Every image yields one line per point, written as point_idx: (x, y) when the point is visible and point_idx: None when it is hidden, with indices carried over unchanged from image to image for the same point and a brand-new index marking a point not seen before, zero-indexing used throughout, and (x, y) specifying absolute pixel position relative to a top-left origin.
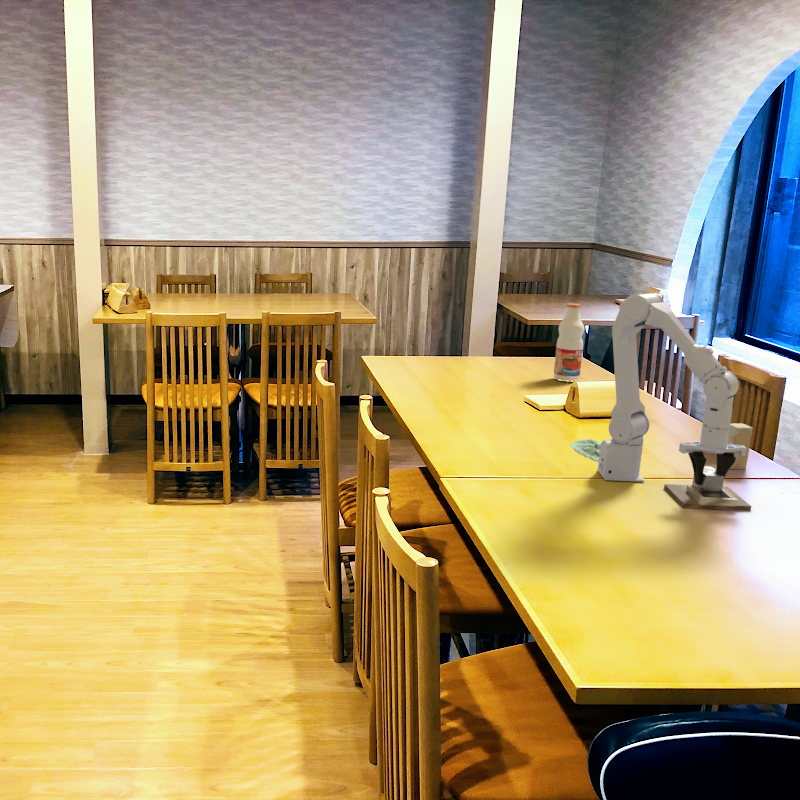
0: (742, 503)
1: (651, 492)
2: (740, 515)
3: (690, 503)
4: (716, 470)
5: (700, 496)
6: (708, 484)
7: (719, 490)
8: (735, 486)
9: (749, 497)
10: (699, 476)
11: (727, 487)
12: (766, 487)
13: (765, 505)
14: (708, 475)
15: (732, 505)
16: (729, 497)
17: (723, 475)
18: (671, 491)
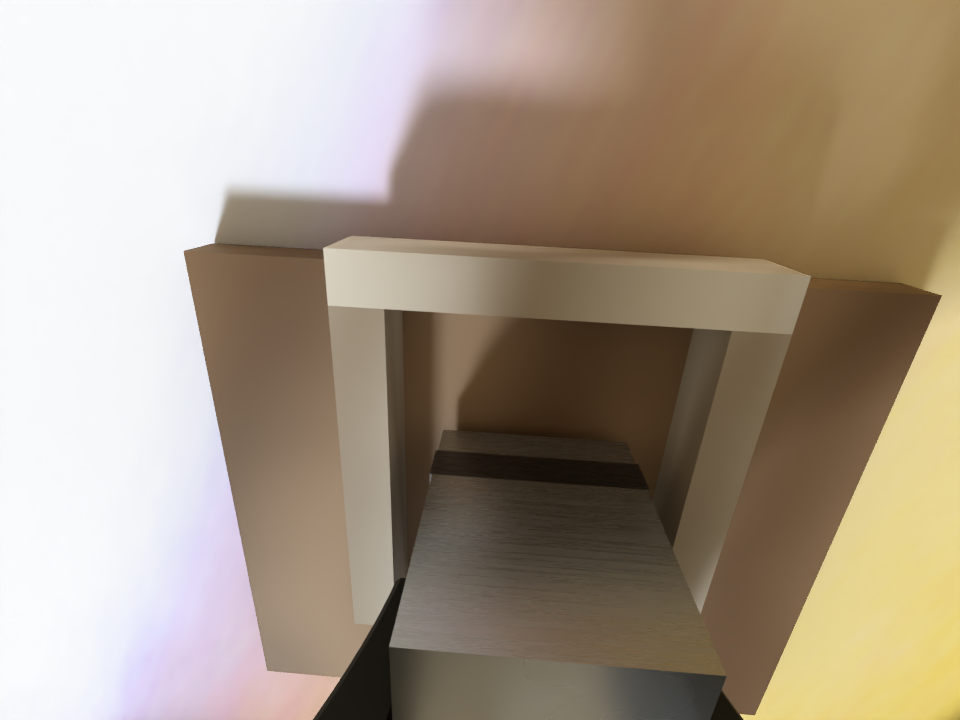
0: (257, 327)
1: (909, 617)
2: (366, 81)
3: (859, 300)
4: None
5: (774, 347)
6: (624, 541)
7: (461, 479)
8: (200, 697)
9: (149, 535)
10: (720, 705)
11: (274, 658)
12: (2, 681)
13: (50, 381)
14: (672, 684)
15: (396, 238)
16: (387, 353)
17: (354, 704)
18: (803, 596)
